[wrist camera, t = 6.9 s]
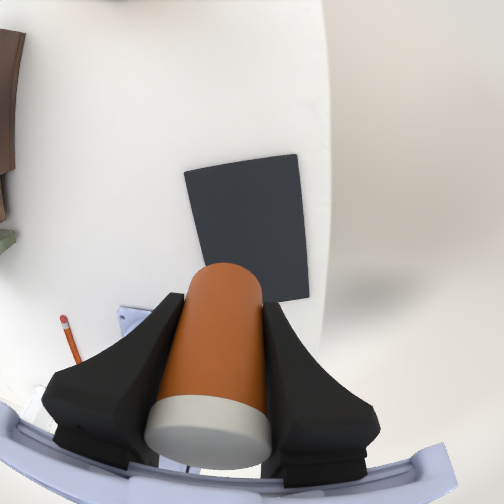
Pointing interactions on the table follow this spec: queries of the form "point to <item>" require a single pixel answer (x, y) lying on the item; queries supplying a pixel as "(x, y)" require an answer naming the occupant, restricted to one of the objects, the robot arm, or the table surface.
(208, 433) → the bottle
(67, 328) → the pencil
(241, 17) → the table surface
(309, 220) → the table surface
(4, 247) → the drawer
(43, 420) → the cup
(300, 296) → the mat
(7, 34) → the cabinet
